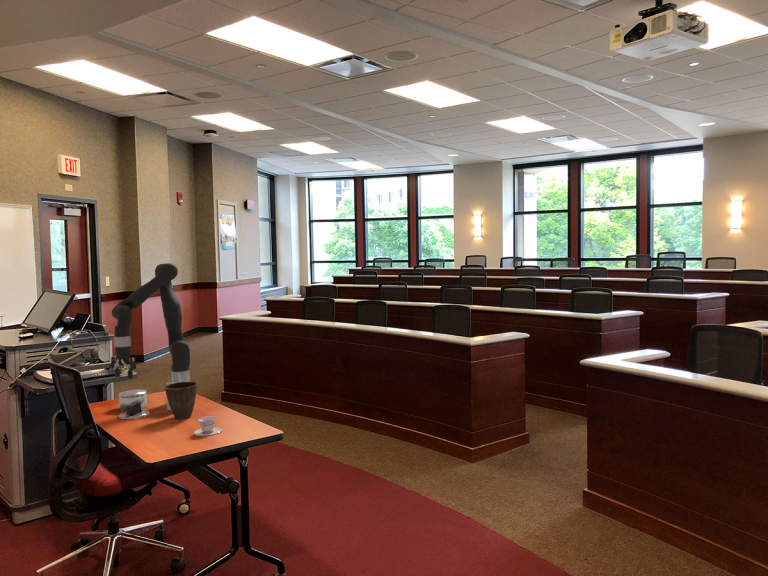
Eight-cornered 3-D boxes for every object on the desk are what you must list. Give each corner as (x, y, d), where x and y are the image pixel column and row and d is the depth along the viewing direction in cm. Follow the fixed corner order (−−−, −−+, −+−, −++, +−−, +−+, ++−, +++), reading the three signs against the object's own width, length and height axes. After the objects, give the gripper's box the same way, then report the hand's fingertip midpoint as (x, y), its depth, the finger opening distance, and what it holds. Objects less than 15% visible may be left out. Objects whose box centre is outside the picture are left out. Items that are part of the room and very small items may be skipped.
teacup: (200, 428, 263) (199, 415, 262) (225, 428, 262) (225, 414, 261) (189, 436, 251) (188, 423, 250) (216, 436, 250) (215, 422, 249)
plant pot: (161, 422, 274) (159, 389, 273) (174, 413, 289) (172, 381, 288) (191, 421, 273) (189, 388, 272) (203, 412, 288) (201, 381, 287)
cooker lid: (154, 412, 293) (154, 400, 292) (139, 420, 279) (138, 407, 279) (129, 412, 295) (128, 400, 295) (112, 420, 281) (111, 407, 281)
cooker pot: (152, 404, 308) (151, 389, 307) (138, 411, 294) (137, 395, 294) (129, 403, 310) (128, 389, 309) (113, 411, 296) (112, 395, 296)
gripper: (139, 345, 287) (140, 377, 288) (118, 343, 293) (119, 375, 294) (127, 347, 280) (128, 380, 281) (106, 345, 286) (107, 378, 287)
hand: (123, 377), depth 287 cm, fingers open, 8 cm apart
